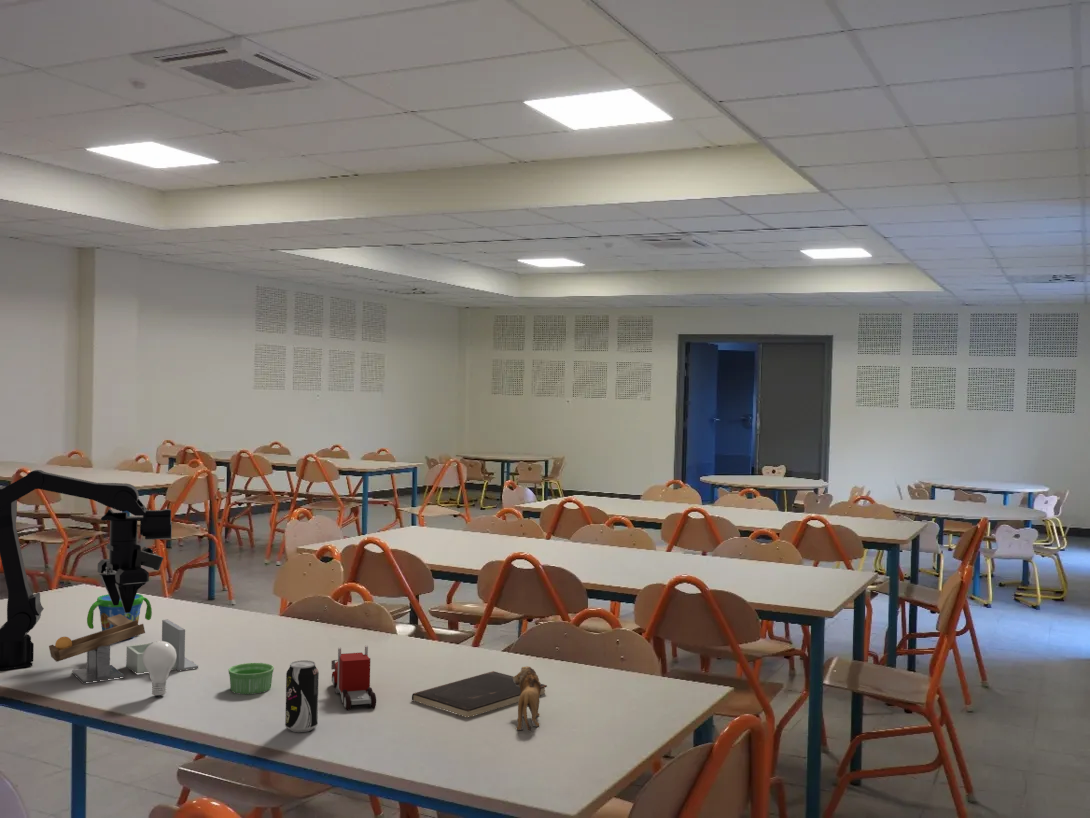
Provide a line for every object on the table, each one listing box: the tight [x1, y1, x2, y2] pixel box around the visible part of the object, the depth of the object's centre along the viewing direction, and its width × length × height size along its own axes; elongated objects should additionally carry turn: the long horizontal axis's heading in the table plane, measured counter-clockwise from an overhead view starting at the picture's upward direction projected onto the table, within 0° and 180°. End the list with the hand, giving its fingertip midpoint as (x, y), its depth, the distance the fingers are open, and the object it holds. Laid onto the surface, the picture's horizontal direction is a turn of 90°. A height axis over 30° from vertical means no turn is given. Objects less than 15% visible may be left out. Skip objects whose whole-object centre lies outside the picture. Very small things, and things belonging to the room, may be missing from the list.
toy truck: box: [330, 645, 377, 711], centre depth 205 cm, size 8×19×10 cm, turn 20°
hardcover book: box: [411, 670, 548, 718], centre depth 206 cm, size 16×23×2 cm
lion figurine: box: [513, 665, 542, 732], centre depth 191 cm, size 15×5×9 cm, turn 6°
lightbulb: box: [143, 640, 177, 697], centre depth 201 cm, size 6×6×11 cm
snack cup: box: [86, 593, 153, 639], centre depth 248 cm, size 16×10×10 cm
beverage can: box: [284, 660, 320, 733], centre depth 184 cm, size 6×6×12 cm
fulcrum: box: [71, 644, 125, 684], centre depth 215 cm, size 8×10×7 cm
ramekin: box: [228, 662, 275, 695], centre depth 208 cm, size 9×9×4 cm
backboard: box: [161, 619, 199, 672], centre depth 226 cm, size 4×12×9 cm, turn 38°
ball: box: [54, 636, 72, 650], centre depth 211 cm, size 3×3×3 cm
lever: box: [48, 614, 146, 663], centre depth 220 cm, size 18×19×3 cm
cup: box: [125, 642, 176, 673], centre depth 222 cm, size 8×8×4 cm
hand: (121, 608), depth 228 cm, fingers open, 9 cm apart
